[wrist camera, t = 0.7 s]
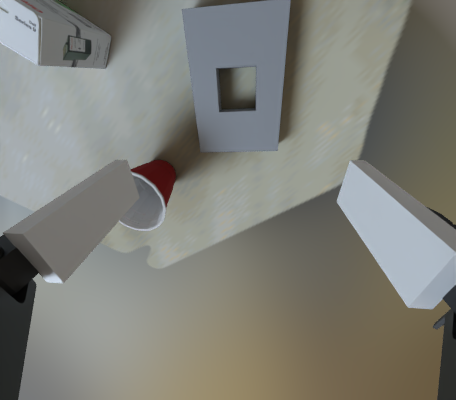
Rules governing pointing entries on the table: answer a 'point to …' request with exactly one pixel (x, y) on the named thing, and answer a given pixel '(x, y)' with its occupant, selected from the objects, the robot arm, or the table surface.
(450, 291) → the robot arm
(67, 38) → the ink box
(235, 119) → the board
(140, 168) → the plastic cup
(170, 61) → the table surface
